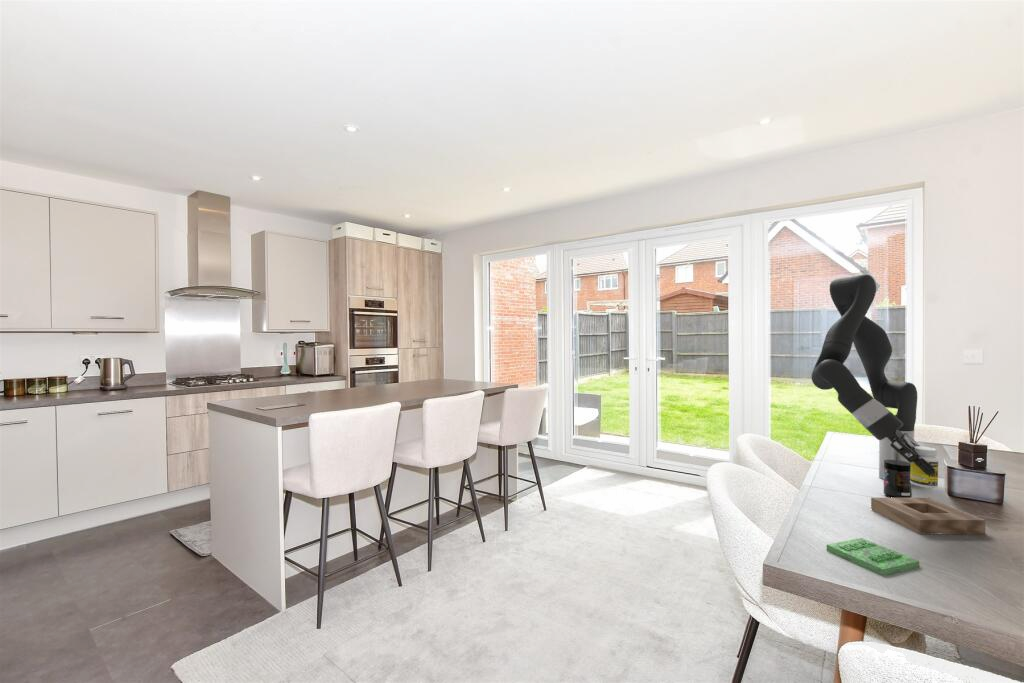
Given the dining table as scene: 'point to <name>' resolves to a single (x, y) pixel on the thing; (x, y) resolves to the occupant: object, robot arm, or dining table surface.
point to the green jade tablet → (872, 556)
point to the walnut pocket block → (928, 516)
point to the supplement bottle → (918, 475)
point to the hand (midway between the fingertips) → (933, 470)
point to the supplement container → (897, 479)
